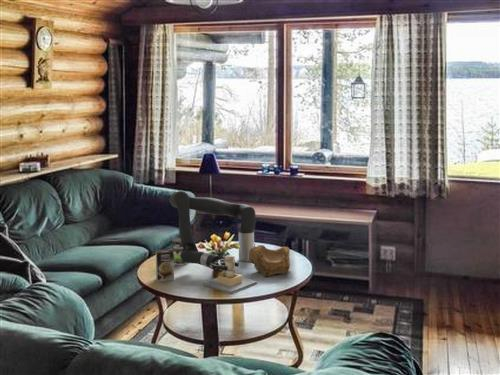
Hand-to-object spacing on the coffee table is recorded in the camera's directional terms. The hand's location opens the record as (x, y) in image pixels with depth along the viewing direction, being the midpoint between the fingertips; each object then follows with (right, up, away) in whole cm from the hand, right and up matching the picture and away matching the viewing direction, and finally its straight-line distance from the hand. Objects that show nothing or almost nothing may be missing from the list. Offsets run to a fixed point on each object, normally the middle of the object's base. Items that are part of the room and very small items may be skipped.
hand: (232, 266), depth 292 cm
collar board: (-1, -10, +3) cm, 10 cm away
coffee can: (-32, -3, +41) cm, 52 cm away
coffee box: (-37, -9, +11) cm, 39 cm away
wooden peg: (-1, -8, +3) cm, 9 cm away
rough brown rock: (+20, -7, +20) cm, 29 cm away
